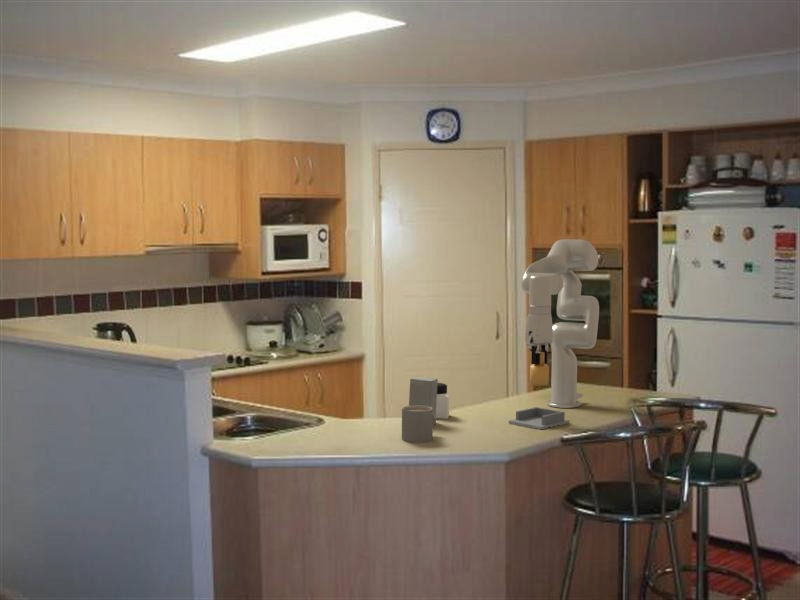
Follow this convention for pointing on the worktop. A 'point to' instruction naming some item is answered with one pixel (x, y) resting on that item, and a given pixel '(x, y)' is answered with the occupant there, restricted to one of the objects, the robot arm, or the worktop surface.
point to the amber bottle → (539, 372)
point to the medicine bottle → (442, 402)
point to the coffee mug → (417, 423)
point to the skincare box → (423, 392)
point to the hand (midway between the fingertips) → (539, 363)
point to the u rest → (539, 418)
